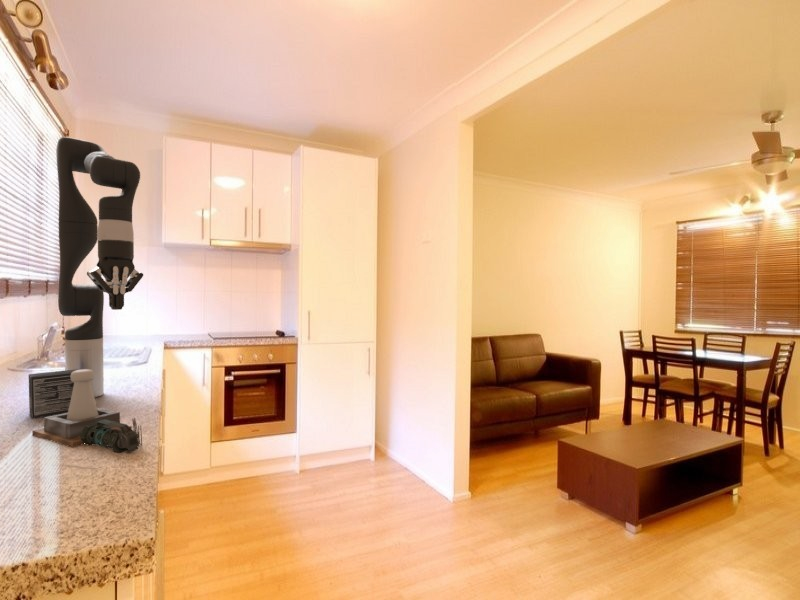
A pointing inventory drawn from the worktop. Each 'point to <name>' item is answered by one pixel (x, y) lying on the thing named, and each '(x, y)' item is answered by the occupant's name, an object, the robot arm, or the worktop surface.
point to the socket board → (72, 427)
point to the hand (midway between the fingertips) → (116, 309)
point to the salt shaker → (82, 396)
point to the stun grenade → (112, 436)
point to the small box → (50, 393)
